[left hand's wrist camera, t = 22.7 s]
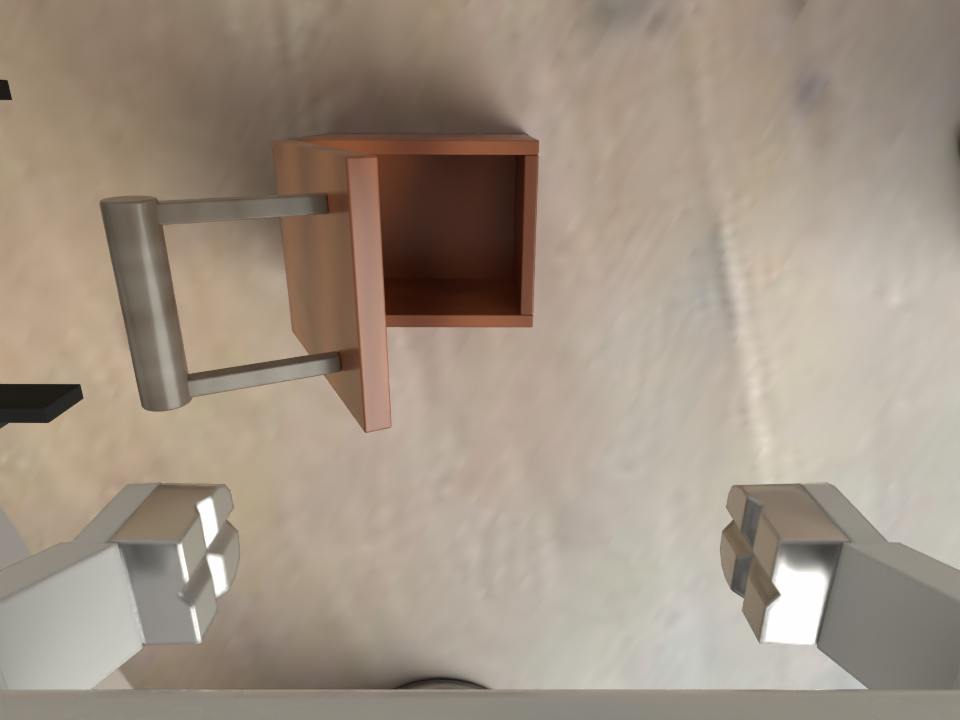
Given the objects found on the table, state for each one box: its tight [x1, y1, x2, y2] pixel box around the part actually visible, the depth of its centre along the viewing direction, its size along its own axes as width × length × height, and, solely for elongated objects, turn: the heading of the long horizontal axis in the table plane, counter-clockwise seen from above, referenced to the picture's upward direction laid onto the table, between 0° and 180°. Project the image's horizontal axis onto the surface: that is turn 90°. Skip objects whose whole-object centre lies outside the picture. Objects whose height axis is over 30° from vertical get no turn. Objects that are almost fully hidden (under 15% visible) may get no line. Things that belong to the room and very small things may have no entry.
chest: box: [288, 133, 539, 327], centre depth 38 cm, size 13×10×9 cm
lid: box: [99, 140, 391, 433], centre depth 26 cm, size 13×10×8 cm
